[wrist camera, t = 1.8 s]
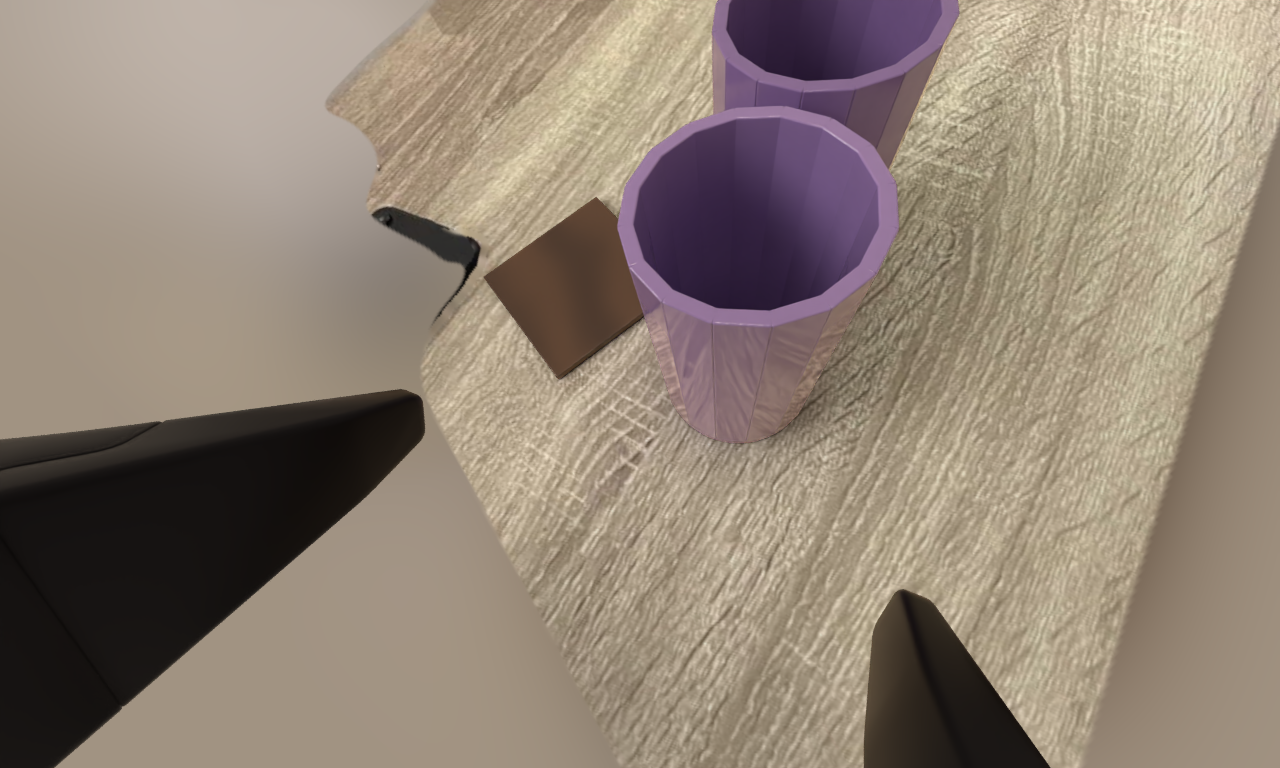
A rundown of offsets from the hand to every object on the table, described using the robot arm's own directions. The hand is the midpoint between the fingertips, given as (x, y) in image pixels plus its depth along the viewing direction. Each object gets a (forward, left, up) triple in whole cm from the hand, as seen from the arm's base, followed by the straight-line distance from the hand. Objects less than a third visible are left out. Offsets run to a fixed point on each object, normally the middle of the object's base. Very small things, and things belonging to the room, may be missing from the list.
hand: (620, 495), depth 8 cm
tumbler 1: (+13, +8, -14) cm, 21 cm away
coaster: (+4, +14, -14) cm, 20 cm away
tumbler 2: (+7, +4, -13) cm, 16 cm away
